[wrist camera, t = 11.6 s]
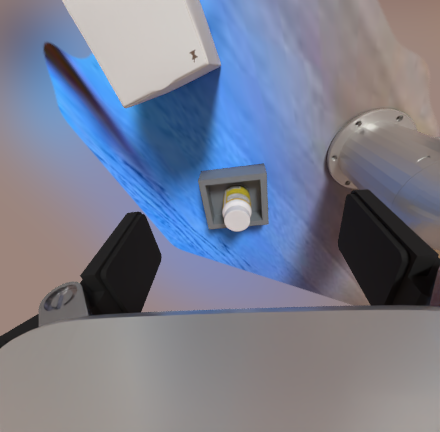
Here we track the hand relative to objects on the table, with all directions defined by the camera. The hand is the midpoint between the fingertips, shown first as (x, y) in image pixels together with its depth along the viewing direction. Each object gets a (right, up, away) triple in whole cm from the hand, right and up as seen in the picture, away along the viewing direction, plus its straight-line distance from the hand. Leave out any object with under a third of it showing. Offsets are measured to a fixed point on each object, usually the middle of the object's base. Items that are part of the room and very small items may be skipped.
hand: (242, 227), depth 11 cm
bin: (+2, +5, +31) cm, 31 cm away
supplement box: (-7, +24, +19) cm, 31 cm away
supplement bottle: (+2, +5, +30) cm, 30 cm away
